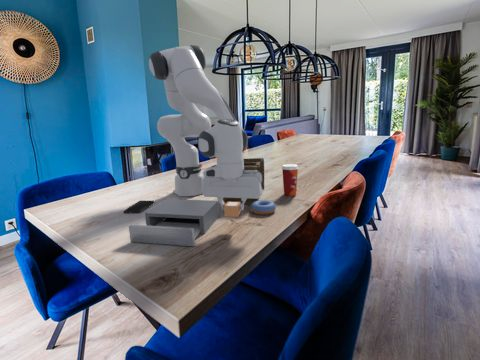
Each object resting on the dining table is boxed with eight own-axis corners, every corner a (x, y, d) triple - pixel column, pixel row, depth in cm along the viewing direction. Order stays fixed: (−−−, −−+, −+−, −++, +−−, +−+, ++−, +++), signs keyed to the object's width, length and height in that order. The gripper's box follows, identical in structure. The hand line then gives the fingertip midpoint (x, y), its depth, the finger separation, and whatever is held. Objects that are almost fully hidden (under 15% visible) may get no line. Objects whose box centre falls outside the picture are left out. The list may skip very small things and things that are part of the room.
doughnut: (273, 216, 112) (273, 204, 111) (248, 216, 115) (247, 204, 114) (277, 209, 121) (277, 198, 121) (254, 209, 124) (253, 199, 123)
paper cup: (297, 197, 134) (297, 167, 130) (280, 196, 136) (280, 166, 133) (299, 192, 141) (299, 163, 137) (283, 191, 143) (283, 163, 140)
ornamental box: (239, 188, 163) (233, 155, 159) (270, 184, 159) (265, 150, 155) (223, 208, 129) (215, 167, 126) (263, 204, 125) (256, 161, 122)
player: (168, 214, 120) (166, 198, 118) (219, 216, 115) (218, 200, 113) (147, 230, 105) (144, 213, 103) (204, 233, 100) (203, 215, 98)
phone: (155, 200, 136) (139, 211, 122) (155, 202, 136) (139, 214, 122) (139, 200, 137) (122, 211, 123) (139, 202, 138) (122, 214, 123)
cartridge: (228, 210, 103) (227, 201, 102) (240, 211, 102) (240, 201, 101) (224, 216, 98) (224, 206, 97) (237, 216, 97) (237, 206, 96)
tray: (155, 223, 110) (153, 209, 109) (210, 226, 105) (209, 211, 104) (130, 242, 96) (128, 225, 94) (193, 246, 90) (191, 229, 89)
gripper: (263, 167, 97) (264, 207, 100) (205, 167, 101) (207, 204, 105) (260, 172, 91) (261, 214, 94) (198, 171, 96) (201, 211, 99)
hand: (232, 209), depth 100 cm, fingers closed on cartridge, 5 cm apart
